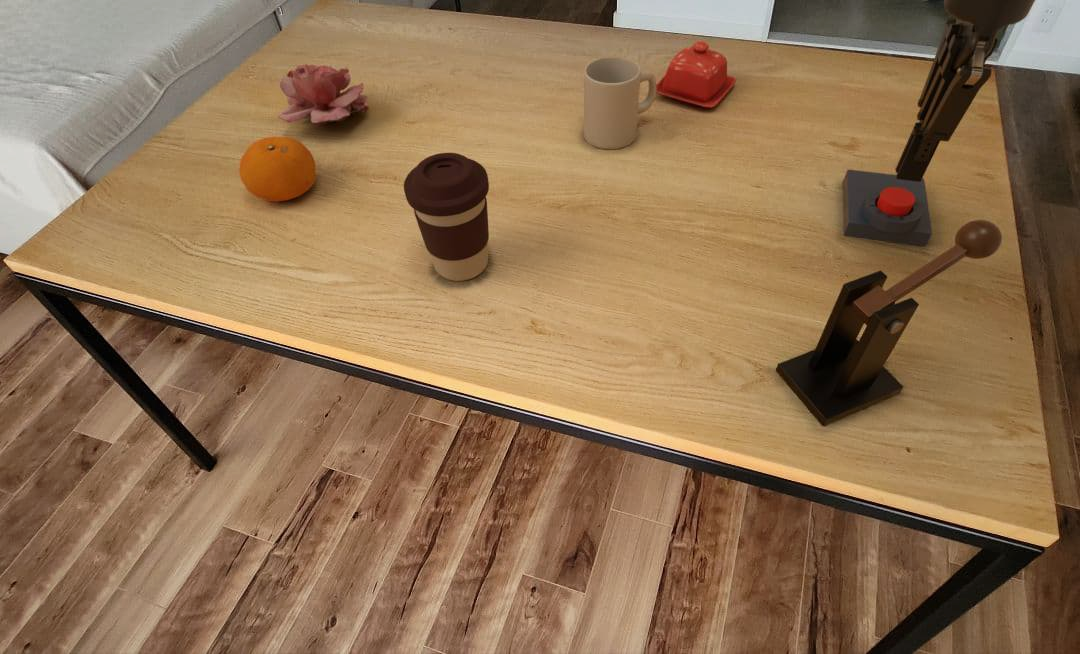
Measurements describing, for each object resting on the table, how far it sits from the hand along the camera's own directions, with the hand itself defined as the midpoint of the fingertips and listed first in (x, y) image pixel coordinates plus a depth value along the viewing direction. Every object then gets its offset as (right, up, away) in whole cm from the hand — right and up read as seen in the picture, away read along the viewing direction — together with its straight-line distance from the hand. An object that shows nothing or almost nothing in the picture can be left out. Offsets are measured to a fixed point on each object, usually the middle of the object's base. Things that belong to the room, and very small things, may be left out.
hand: (907, 175), depth 79 cm
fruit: (-84, +2, +19) cm, 86 cm away
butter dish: (-19, +22, +32) cm, 43 cm away
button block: (+1, -3, +9) cm, 9 cm away
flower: (-81, +16, +31) cm, 89 cm away
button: (0, -3, +4) cm, 5 cm away
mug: (-33, +13, +25) cm, 43 cm away
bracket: (-13, -25, -9) cm, 29 cm away
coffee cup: (-56, -10, +6) cm, 57 cm away
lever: (-8, -14, -17) cm, 24 cm away
